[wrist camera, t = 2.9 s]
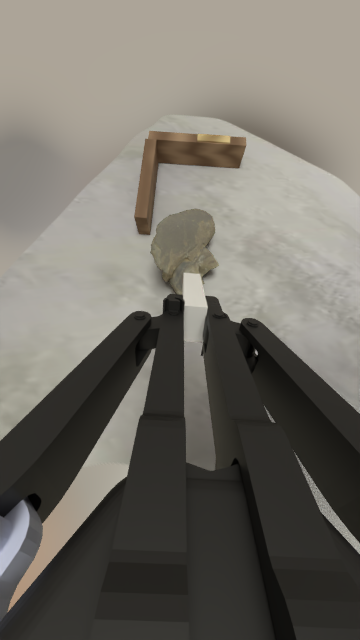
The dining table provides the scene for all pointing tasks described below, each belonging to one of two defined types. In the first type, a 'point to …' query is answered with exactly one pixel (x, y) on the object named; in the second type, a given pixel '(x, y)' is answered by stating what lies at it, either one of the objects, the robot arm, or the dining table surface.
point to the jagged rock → (184, 246)
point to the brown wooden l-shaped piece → (180, 162)
